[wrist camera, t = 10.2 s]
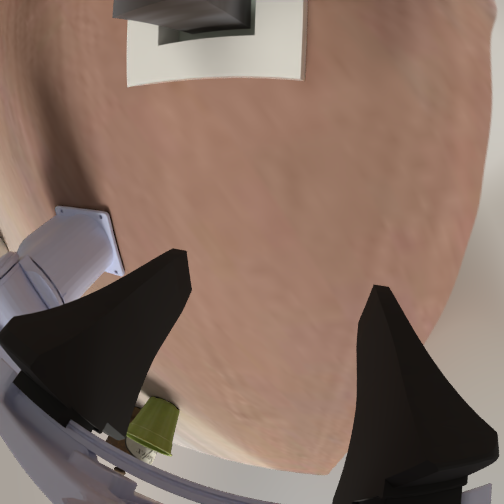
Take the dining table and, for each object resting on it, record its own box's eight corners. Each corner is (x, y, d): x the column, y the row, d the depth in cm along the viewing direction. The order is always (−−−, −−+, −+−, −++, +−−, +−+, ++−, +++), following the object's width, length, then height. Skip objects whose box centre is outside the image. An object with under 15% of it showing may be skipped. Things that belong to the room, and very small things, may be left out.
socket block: (152, 84, 16) (127, 86, 14) (157, -34, 10) (135, -44, 8) (304, 81, 14) (300, 79, 12) (307, -54, 8) (302, -73, 6)
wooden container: (177, 432, 67) (151, 490, 49) (144, 421, 73) (118, 472, 55) (149, 410, 60) (117, 475, 42) (116, 399, 66) (85, 454, 48)
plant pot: (148, 404, 56) (130, 439, 47) (136, 383, 49) (113, 424, 40) (192, 421, 54) (175, 460, 45) (186, 404, 48) (165, 450, 39)
